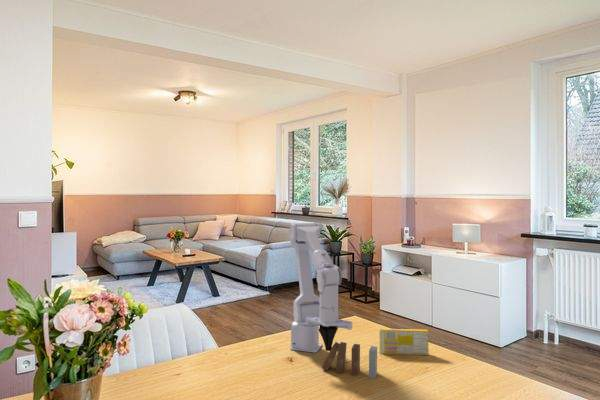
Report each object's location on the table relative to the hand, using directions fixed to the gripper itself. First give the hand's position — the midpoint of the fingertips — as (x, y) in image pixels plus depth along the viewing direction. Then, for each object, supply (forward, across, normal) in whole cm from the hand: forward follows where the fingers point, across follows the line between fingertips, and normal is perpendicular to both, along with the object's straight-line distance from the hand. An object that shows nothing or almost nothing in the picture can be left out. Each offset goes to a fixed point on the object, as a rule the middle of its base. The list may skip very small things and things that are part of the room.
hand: (328, 349), depth 128 cm
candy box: (+6, +21, +20) cm, 30 cm away
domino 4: (+6, +14, 0) cm, 15 cm away
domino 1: (+6, -1, 0) cm, 6 cm away
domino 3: (+6, +8, 0) cm, 10 cm away
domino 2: (+6, +4, 0) cm, 7 cm away
